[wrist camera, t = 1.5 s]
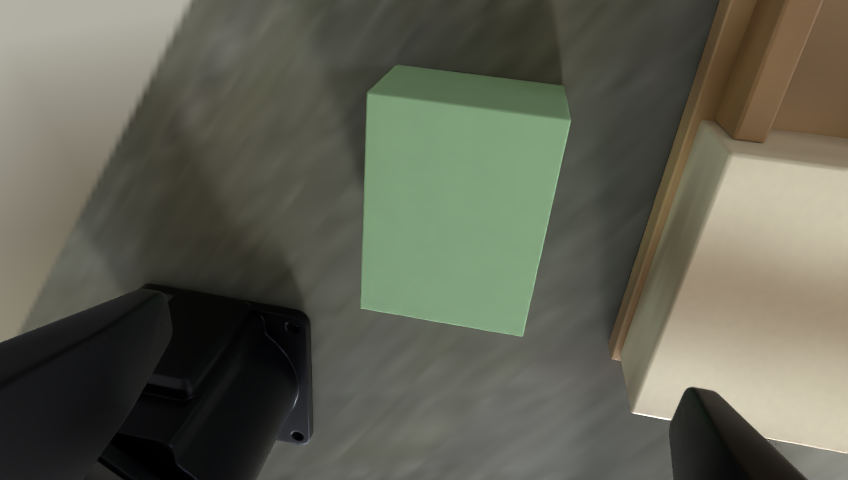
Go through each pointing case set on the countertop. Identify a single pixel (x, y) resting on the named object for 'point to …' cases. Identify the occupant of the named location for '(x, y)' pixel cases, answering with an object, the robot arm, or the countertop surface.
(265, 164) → the countertop surface
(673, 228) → the frame
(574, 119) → the countertop surface
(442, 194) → the green rectangular block
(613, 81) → the countertop surface
